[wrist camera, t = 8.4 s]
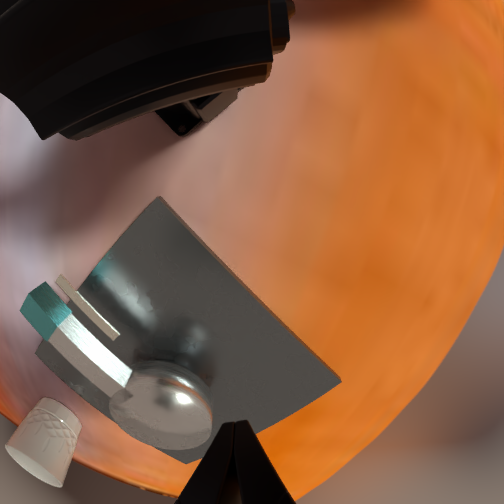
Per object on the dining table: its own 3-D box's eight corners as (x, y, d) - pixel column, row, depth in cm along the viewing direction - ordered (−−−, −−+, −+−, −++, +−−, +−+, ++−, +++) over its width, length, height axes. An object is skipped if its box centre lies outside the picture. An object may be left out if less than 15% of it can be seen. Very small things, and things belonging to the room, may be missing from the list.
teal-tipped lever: (233, 402, 20) (234, 430, 17) (172, 434, 21) (168, 458, 18) (68, 251, 16) (44, 266, 13) (30, 312, 17) (10, 329, 14)
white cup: (69, 437, 26) (47, 486, 16) (29, 399, 24) (-1, 446, 14) (96, 429, 25) (72, 488, 16) (50, 387, 23) (14, 443, 14)
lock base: (25, 336, 21) (14, 348, 19) (141, 175, 18) (128, 176, 15) (186, 459, 27) (184, 474, 24) (339, 376, 24) (347, 393, 21)
